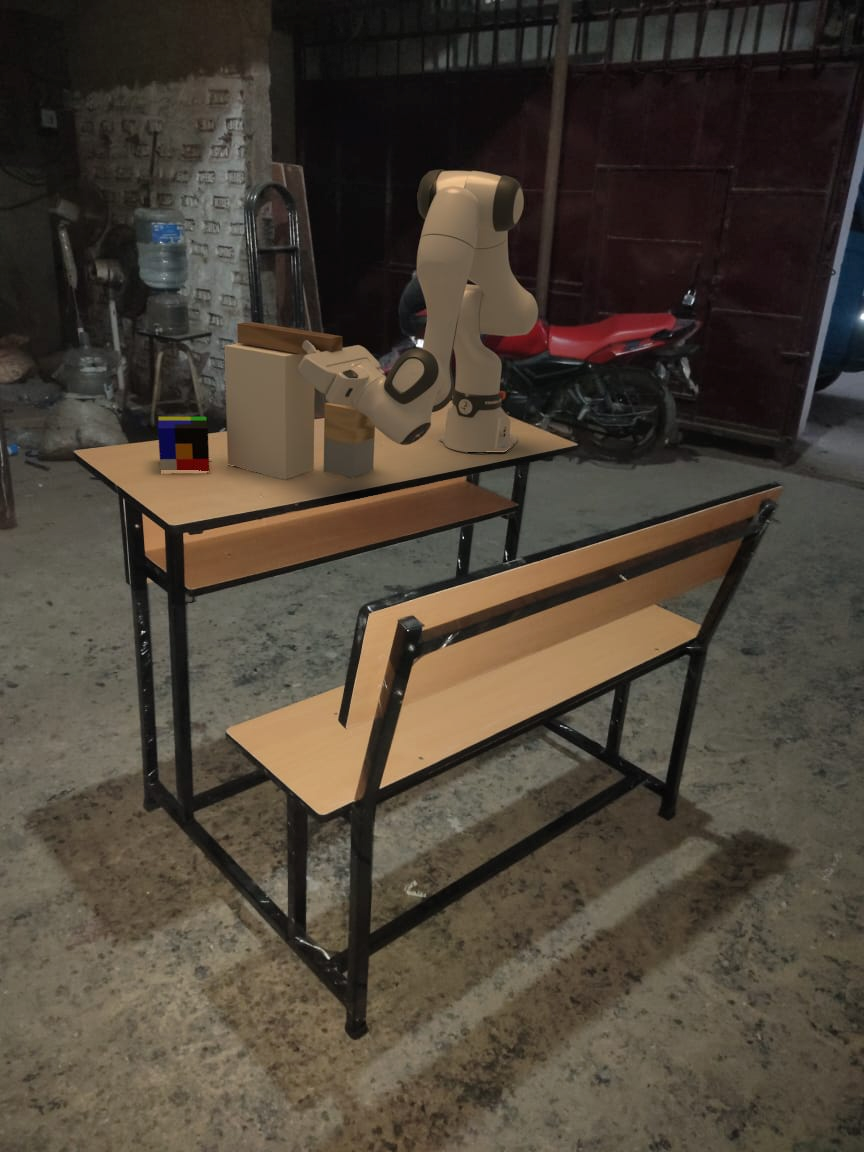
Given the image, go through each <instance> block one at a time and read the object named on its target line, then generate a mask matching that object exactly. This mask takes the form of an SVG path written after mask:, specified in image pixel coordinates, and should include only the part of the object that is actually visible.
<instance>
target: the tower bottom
mask: <svg viewBox="0 0 864 1152" xmlns="http://www.w3.org/2000/svg"><path fill="white" fill-rule="evenodd" d="M374 453H375V438H372V439H369V440H366V441H363V442H360V443H357V444H350V443H345V442H341V441H336V440H332V439H327V438H324V437H323V471H324V472H328V473H333V474H336V475H340V476H343V477H344V476H345V477H347V478H348V477H349V478H352V479H354V478H357V477H359V476H362V475H364V474H366V472H367V473H370V472H371V470H372V471H373V470H374V459H375V457H374V455H375V454H374Z"/></svg>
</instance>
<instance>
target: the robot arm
mask: <svg viewBox="0 0 864 1152" xmlns="http://www.w3.org/2000/svg"><path fill="white" fill-rule="evenodd" d="M419 182H420V183H419V186H418V189H417V190H418V192H417V210H418V213H419V215H420V216H421V217H422V218H423V220H424V222H423V227H422V230H421V234H420V239H419V244H418V248H417V254H416V276H417V280H418V283H419V285H420V286H419V287H420V288H421V292H422V294H423V298H424V302H425V306H426V325H425V332H424V335H423V336H424V338H423V343H422V348H419V347H418V348H410V349H408V350H406V351H404V352H403V353H402V354H401V355H400V356H398V357H397V358H396V360H395V362H394V364H393V365H392V367H391V368H390V370H389V372H388V373H387V375H385V371H384V370H383V369H382V368H381V364H380V362H379V361H378V360H377V359H376V358H375V357H374V355H372V354H371V353H370V351H369V350H368V349H367V348H365V347H364V346H362V345H359V344H357V345H356V344H355V345H352V346H346V347H342V351H337V352H332V353H331V352H329V351H324V352H320V351H319V350H316V349H315V347H314V346H315V344H314V343H313V342H312V341H311V340H306V341H304V343H303V345H302V348H303V349H304V350H305V351H306V352H307V353H308V355H305V356H304V357H303V359H302V361H301V363H300V365H299V372H300V374H301V375H302V376H303V377H304V378H305V379H306V380H307V381H308V382H309V383H310V384H311V385H312V386H313V387H315V390H316V391H319V392H320V393H321V394H325V400H326V401H327V403H331V404H340V405H346V406H349V407H354V408H355V409H356V410H357V411H358V412H360V413H362V414H364V415H365V416H367V417H368V418H369V420H370V421H371V423H372V424H373V425H374V426H375V429H377V430H378V431H379V432H381V434H383V435H384V436H386V437H387V438H388V439H390V440H391V441H392V442H394V443H396V444H398V445H401V446H406V445H407V446H409V445H411V444H413V443H415V442H417V441H419V440H420V439H422V437H424V436H425V435H426V434H427V432H428V431H429V430H430V428H431V425H432V413H436V412H439V411H441V410H442V409H444V408H445V407H446V406H448V404H449V403H450V402H451V403H452V406H451V407H450V408H448V409H447V411H446V418H445V423H444V431H443V434H442V435H440V436H439V441H440V442H442V443H443V444H444V446H445V447H446V448H448V449H450V450H454V451H458V452H462V453H468V452H486V451H505V450H507V449H508V448H509V447H511V446H512V445H513V444H514V443H515V442H516V441H517V440H518V441H519V437H518V436H516V435H513V434H511V433H510V432H511V418H510V417H509V415H507V413H506V412H505V410H504V409H503V408H502V400H505V398H506V391H502V390H500V389H501V376H502V360H501V359H500V357H499V356H498V355H497V354H496V353H495V352H494V350H493V351H492V350H491V349H490V348H488V347H486V346H485V345H484V343H483V342H482V340H481V335H490V336H500V337H501V336H502V337H517V336H518V337H519V336H524V335H525V336H526V335H528V334H529V333H530V332H531V331H532V330H533V328H534V327H535V325H536V323H537V320H538V317H539V307H538V304H537V301H536V299H535V297H534V296H533V294H532V293H531V292H529V291H527V290H526V289H525V288H524V287H523V286H522V285H521V284H520V283H519V282H518V280H517V279H516V277H515V275H514V274H513V272H512V270H511V266H510V260H509V248H508V247H509V245H508V244H509V243H508V239H509V238H508V237H509V236H508V232H509V231H510V230H512V229H514V228H515V226H517V225H518V223H519V221H520V218H521V216H522V213H523V211H524V205H525V204H524V202H525V200H524V199H525V198H524V191H523V186H522V185H521V184H520V182H519V181H518V180H517V179H516V178H514V177H511V176H508V175H504V174H503V175H497V174H494V173H490V172H485V171H477V170H470V171H469V170H445V169H434V170H430V171H428V172H427V173H426V174H424V176H423V177H422V178H421V180H420V181H419ZM468 281H470V282H472V283H473V284H469V283H468ZM453 353H454V358H455V383H454V376H453V372H452V358H453ZM451 400H452V401H451ZM518 441H517V442H518ZM517 442H516V443H517ZM516 443H515V444H516ZM515 444H514V445H515ZM514 445H513V446H514ZM513 446H512V447H513ZM512 447H511V448H512Z"/></svg>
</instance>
